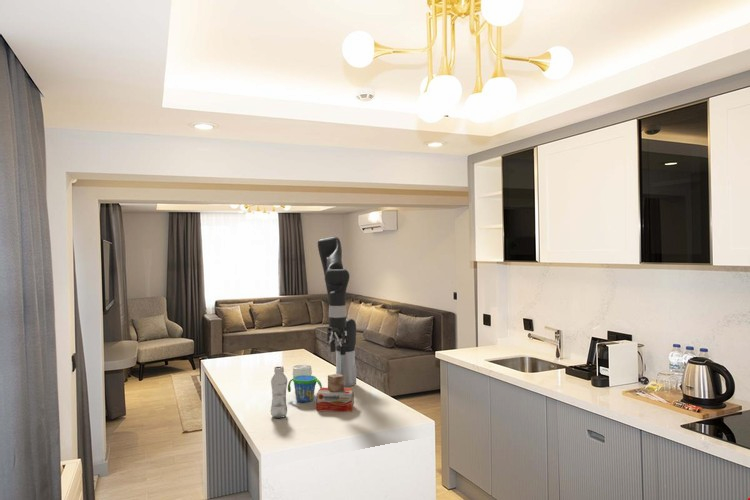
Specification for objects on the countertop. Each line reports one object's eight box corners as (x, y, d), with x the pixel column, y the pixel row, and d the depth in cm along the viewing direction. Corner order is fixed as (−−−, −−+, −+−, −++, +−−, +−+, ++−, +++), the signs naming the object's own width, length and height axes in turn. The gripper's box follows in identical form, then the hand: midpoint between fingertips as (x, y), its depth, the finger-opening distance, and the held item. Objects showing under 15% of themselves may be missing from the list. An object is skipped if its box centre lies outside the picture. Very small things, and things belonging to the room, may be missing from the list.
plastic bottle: (271, 414, 210) (271, 365, 210) (288, 414, 210) (288, 365, 210) (269, 419, 203) (269, 369, 203) (286, 419, 204) (286, 369, 204)
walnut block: (337, 387, 222) (337, 373, 222) (343, 390, 218) (343, 375, 218) (327, 389, 219) (327, 375, 219) (333, 391, 215) (333, 377, 215)
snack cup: (325, 398, 232) (325, 376, 233) (316, 405, 222) (316, 381, 222) (294, 395, 237) (294, 373, 237) (283, 402, 227) (283, 379, 227)
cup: (308, 395, 238) (308, 369, 238) (289, 394, 240) (289, 368, 240) (314, 390, 247) (314, 365, 247) (296, 389, 249) (296, 364, 249)
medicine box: (316, 411, 214) (316, 392, 214) (319, 405, 223) (319, 387, 223) (351, 412, 213) (351, 393, 213) (354, 406, 221) (354, 388, 221)
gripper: (353, 316, 216) (354, 355, 216) (336, 313, 228) (336, 349, 228) (338, 318, 212) (338, 357, 212) (321, 314, 223) (322, 351, 223)
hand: (337, 353), depth 220 cm, fingers open, 8 cm apart
